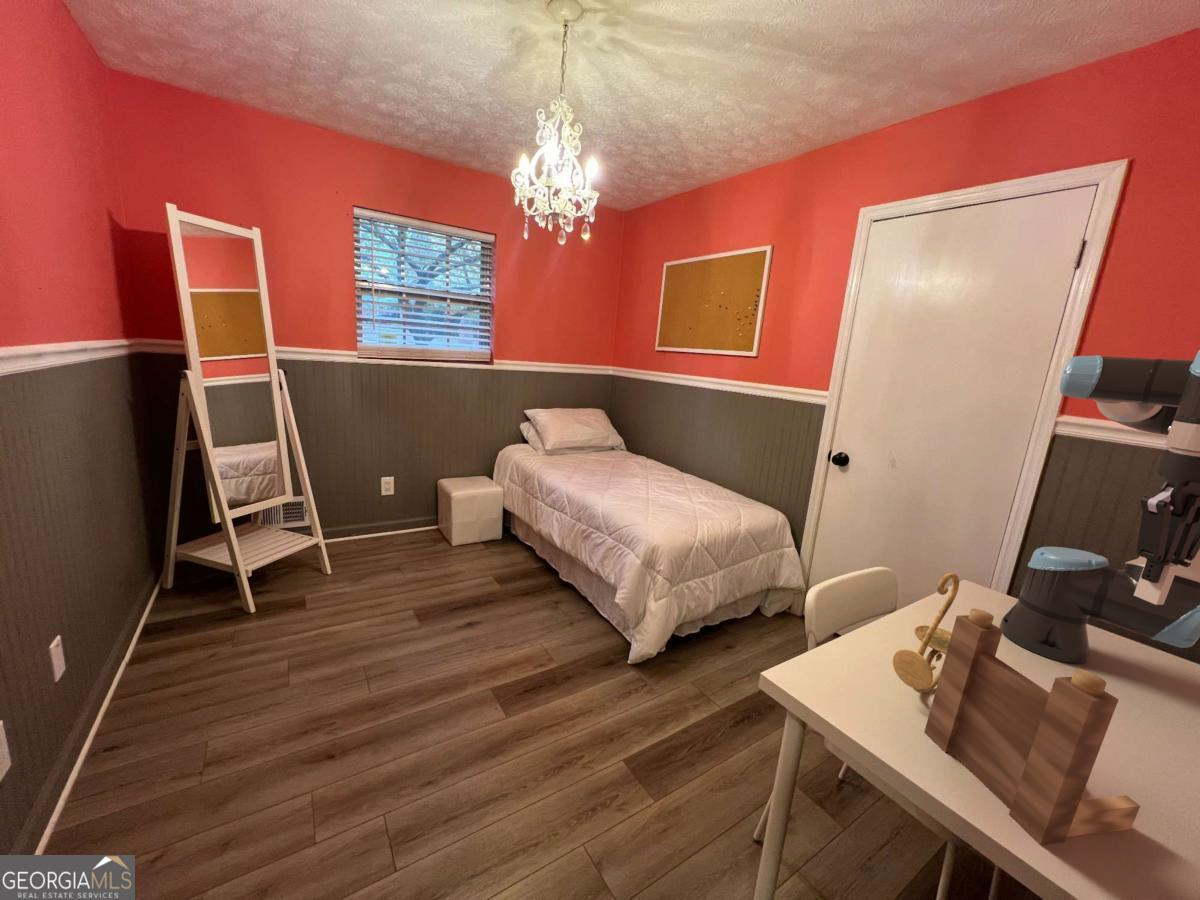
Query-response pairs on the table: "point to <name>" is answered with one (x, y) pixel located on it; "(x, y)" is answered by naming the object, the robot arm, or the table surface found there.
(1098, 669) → the table surface
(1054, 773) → the headboard
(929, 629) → the wall sconce
